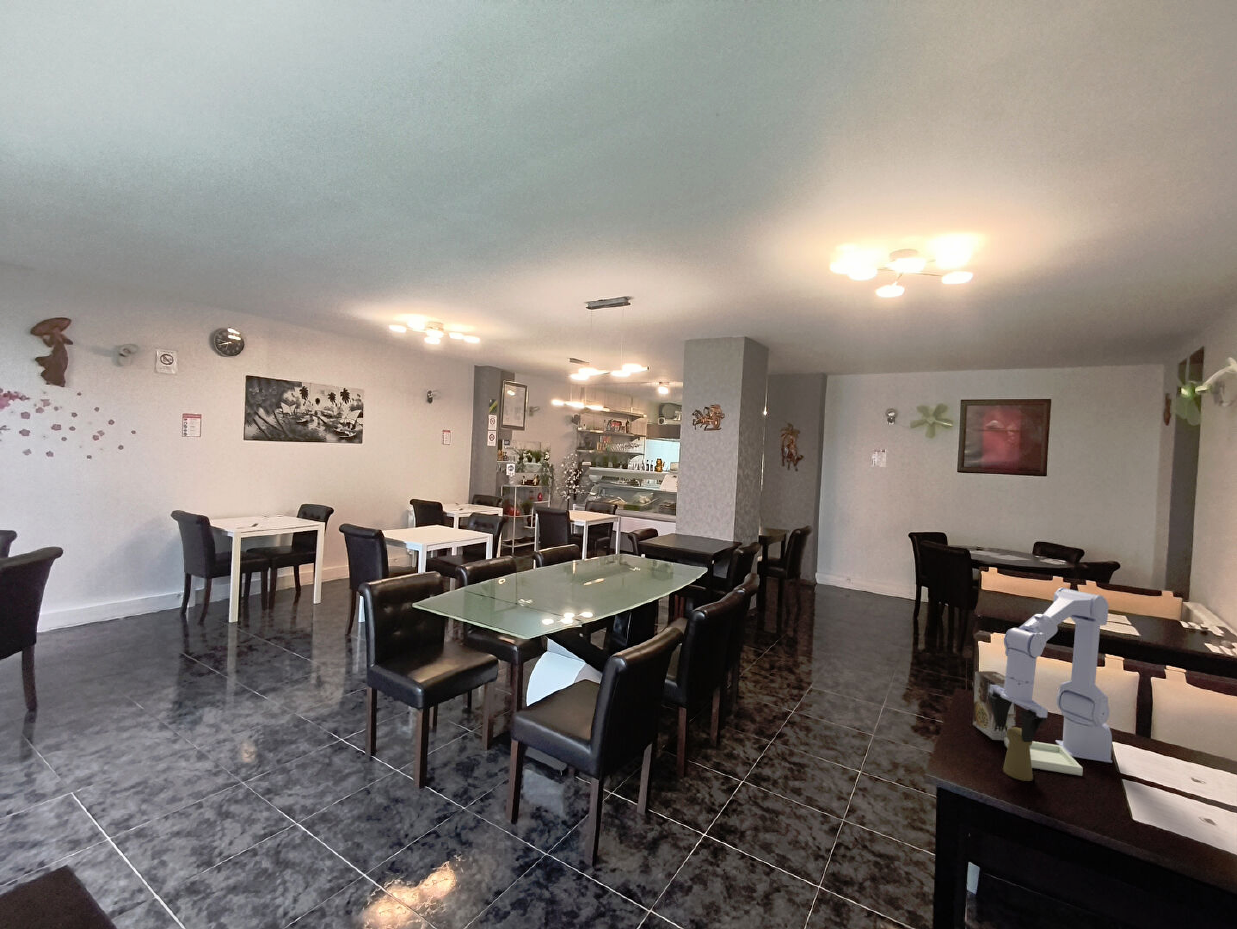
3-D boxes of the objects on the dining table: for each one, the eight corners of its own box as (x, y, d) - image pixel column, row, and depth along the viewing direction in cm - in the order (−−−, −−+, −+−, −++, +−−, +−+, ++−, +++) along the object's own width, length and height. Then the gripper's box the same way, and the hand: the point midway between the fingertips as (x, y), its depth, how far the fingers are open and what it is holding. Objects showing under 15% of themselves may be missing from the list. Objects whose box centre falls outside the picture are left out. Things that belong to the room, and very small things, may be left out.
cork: (1038, 782, 132) (1040, 737, 132) (1010, 778, 134) (1012, 734, 133) (1024, 768, 138) (1027, 725, 138) (998, 765, 139) (1000, 722, 139)
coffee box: (1015, 741, 152) (1018, 683, 152) (992, 740, 152) (995, 682, 152) (993, 725, 161) (996, 670, 161) (971, 724, 161) (974, 669, 161)
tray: (1060, 752, 147) (1060, 745, 147) (1082, 775, 136) (1082, 767, 136) (1004, 744, 150) (1004, 736, 150) (1021, 765, 140) (1021, 758, 140)
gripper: (981, 666, 142) (975, 719, 141) (1031, 689, 127) (1024, 747, 127) (1005, 668, 143) (999, 720, 142) (1057, 691, 128) (1051, 749, 128)
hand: (1013, 733), depth 135 cm, fingers open, 7 cm apart
